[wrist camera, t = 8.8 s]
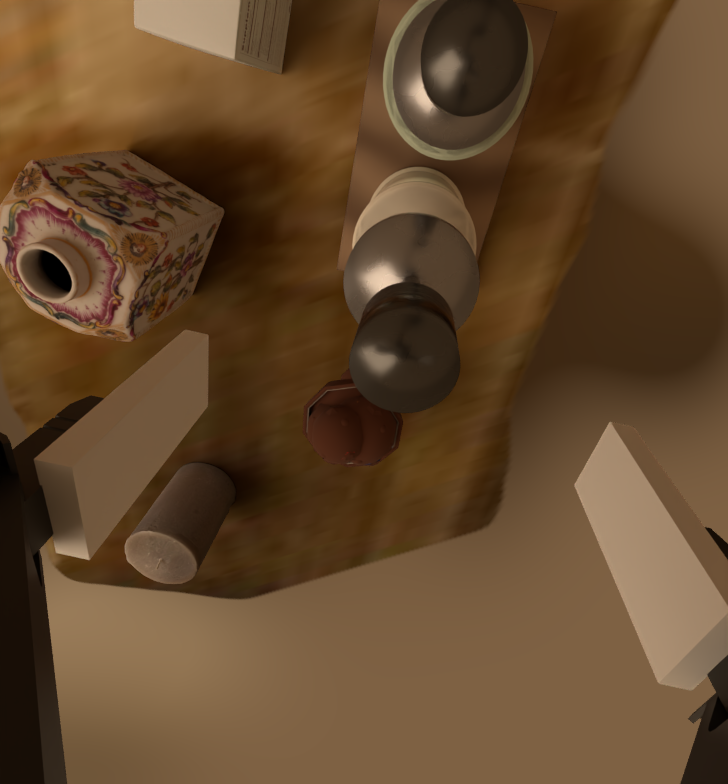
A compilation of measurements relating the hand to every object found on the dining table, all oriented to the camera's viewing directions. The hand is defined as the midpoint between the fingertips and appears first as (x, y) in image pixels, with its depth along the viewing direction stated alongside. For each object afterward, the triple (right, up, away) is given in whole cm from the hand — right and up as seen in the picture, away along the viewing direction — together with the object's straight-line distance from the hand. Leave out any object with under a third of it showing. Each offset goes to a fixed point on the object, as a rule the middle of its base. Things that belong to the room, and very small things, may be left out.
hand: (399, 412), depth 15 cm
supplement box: (-11, +34, +25) cm, 43 cm away
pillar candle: (-25, -14, +55) cm, 62 cm away
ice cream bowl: (-1, +2, +43) cm, 43 cm away
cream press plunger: (+2, +7, +13) cm, 15 cm away
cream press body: (+4, +18, +30) cm, 35 cm away
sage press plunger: (+5, +20, +14) cm, 25 cm away
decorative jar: (-23, +19, +35) cm, 46 cm away
